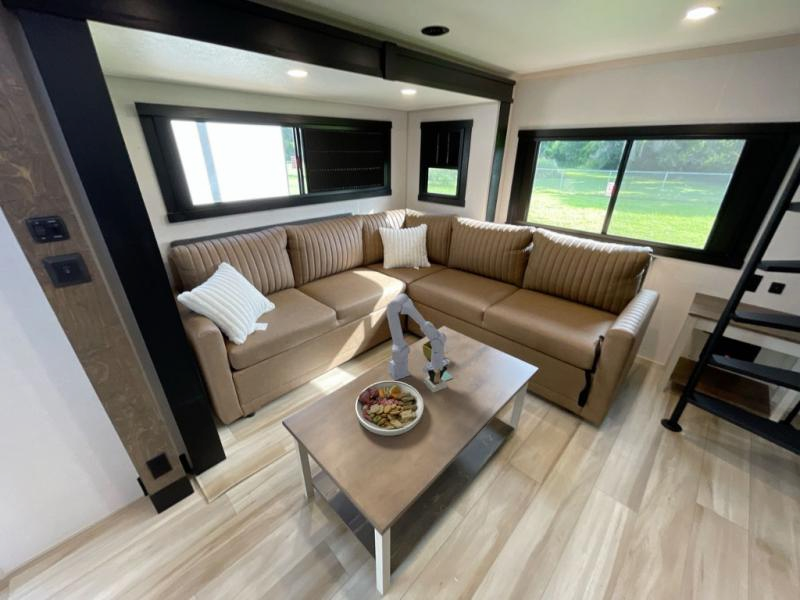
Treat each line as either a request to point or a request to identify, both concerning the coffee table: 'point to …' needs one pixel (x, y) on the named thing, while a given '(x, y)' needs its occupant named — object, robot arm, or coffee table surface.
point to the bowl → (389, 407)
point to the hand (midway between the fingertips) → (435, 379)
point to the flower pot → (427, 350)
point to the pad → (446, 376)
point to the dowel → (436, 377)
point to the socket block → (436, 387)
